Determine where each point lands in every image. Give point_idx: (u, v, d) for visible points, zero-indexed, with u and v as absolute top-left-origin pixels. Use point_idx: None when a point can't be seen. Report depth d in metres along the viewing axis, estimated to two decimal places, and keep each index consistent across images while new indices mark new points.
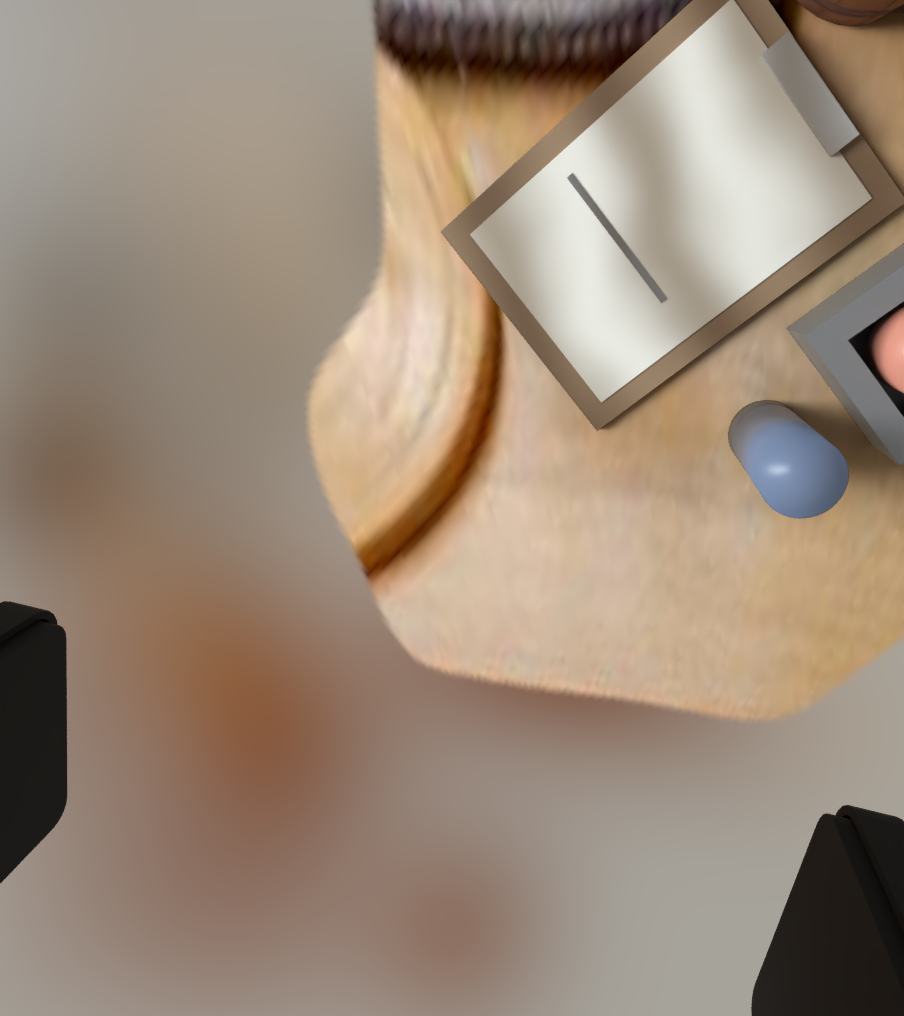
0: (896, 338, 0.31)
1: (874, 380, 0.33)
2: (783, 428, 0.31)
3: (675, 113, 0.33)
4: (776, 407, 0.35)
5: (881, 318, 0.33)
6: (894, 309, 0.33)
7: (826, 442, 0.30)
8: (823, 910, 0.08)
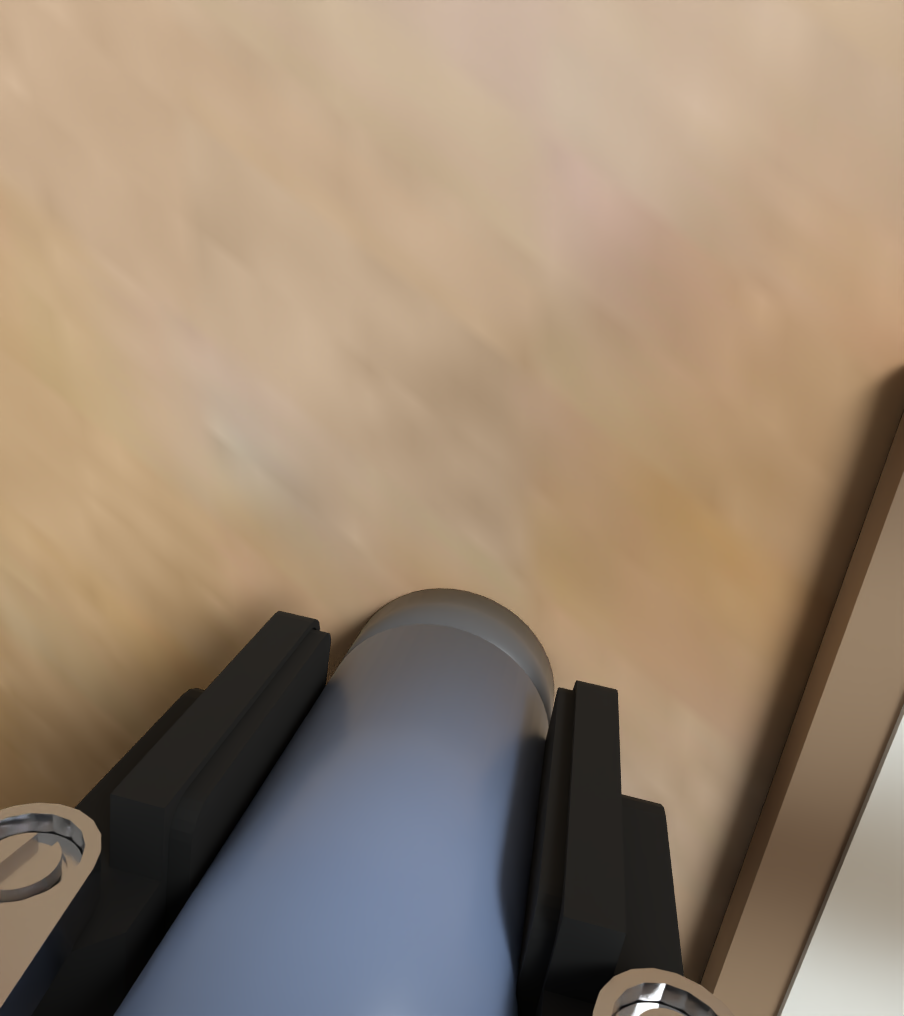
0: None
1: None
2: None
3: None
4: None
5: None
6: None
7: None
8: (544, 763, 0.09)
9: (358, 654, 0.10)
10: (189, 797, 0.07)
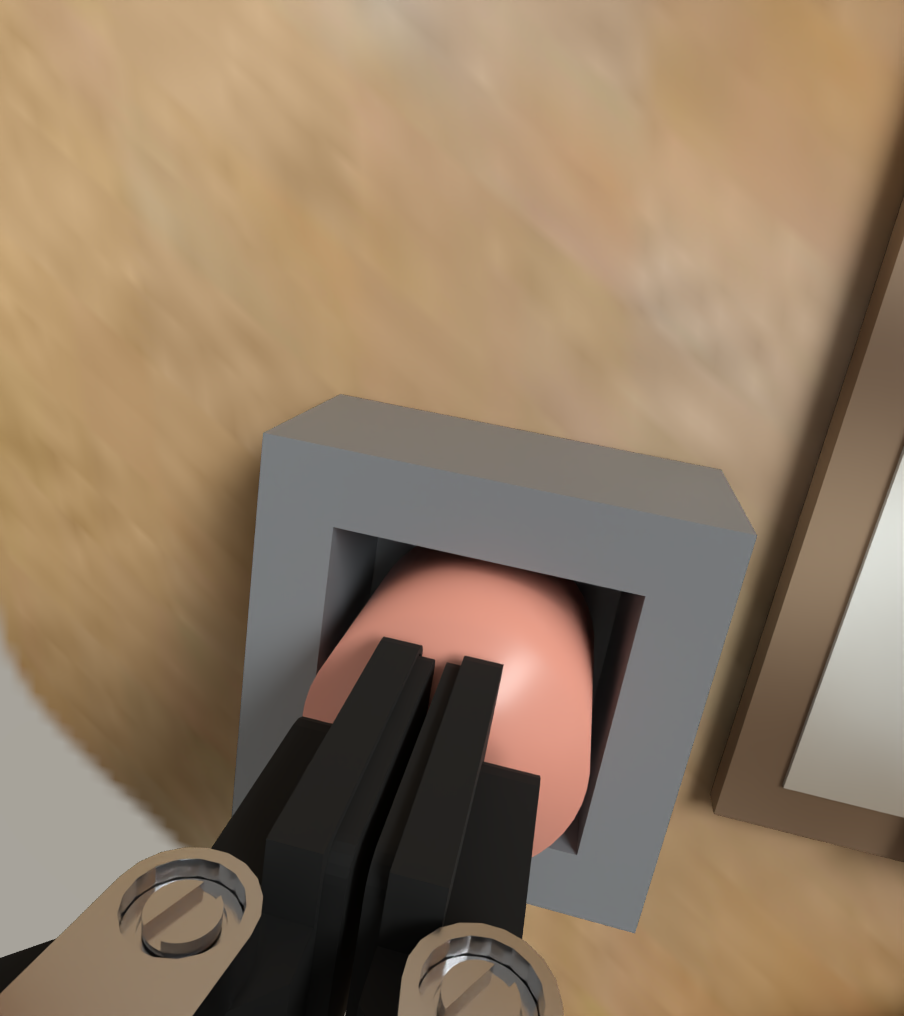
0: (579, 690, 0.11)
1: (502, 559, 0.11)
2: None
3: None
4: None
5: (593, 637, 0.13)
6: None
7: None
8: None
9: None
10: (340, 840, 0.07)
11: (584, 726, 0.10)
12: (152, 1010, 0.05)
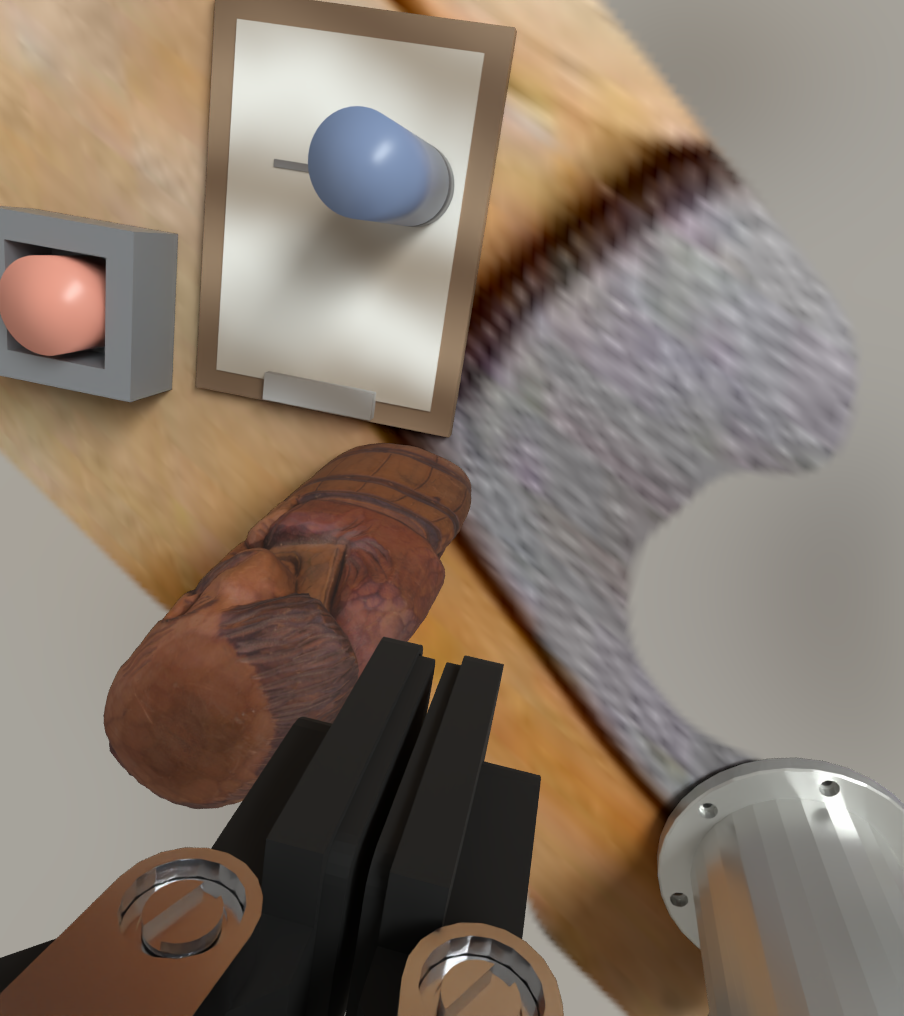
0: (85, 284, 0.32)
1: (59, 247, 0.32)
2: (415, 196, 0.26)
3: (398, 307, 0.33)
4: (430, 215, 0.30)
5: None
6: None
7: (373, 215, 0.25)
8: None
9: None
10: (339, 840, 0.07)
11: (81, 291, 0.32)
12: (153, 1009, 0.05)
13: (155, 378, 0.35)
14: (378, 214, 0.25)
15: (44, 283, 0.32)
